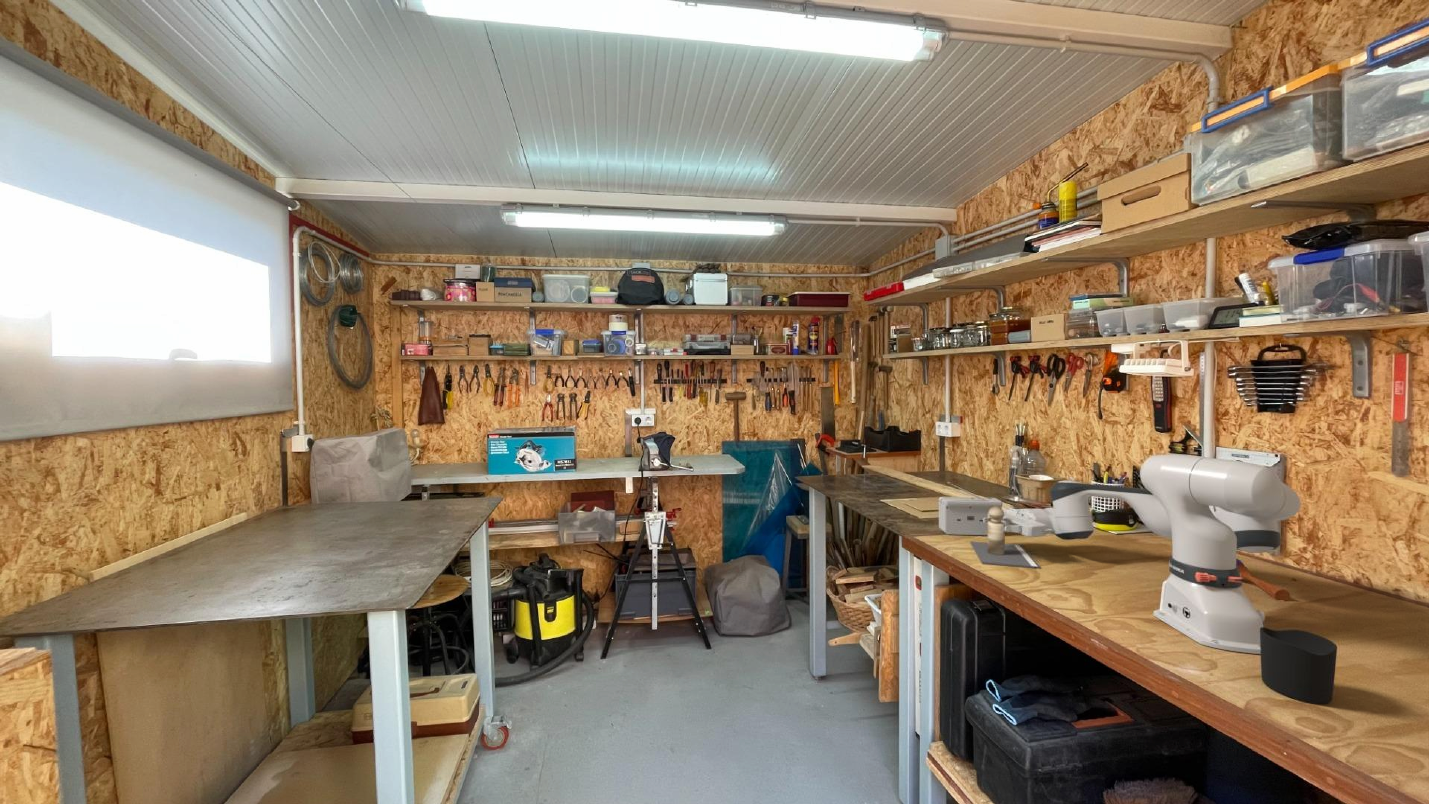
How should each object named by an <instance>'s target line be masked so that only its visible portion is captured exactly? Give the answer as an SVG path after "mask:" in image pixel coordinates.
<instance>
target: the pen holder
mask: <svg viewBox="0 0 1429 804" xmlns="http://www.w3.org/2000/svg"><path fill="white" fill-rule="evenodd" d="M1260 649H1261V654H1260V670H1261V671H1260V672H1261V673H1260V674H1261V680H1262V683H1264V685H1265V686H1266V687H1267V688H1269V689H1270V690H1272V691H1273V692H1276V693H1278V694H1280V695H1281V696H1284V697H1287V698H1289V699H1293V700H1296V701H1299V702H1303V703H1310V704H1313V705H1325V704H1329V703H1330V702H1331V701H1332V700H1333V695H1334V686H1335V677H1336V676H1335V675H1336V665H1337V655H1338V654H1337V652H1338V645H1337V644H1336V643H1335V642H1333V641H1332V640H1330V639H1327V638H1325V637H1324V636H1321V635H1319V634H1315V633H1312V632H1309V631H1306V630H1301V629H1281V630H1278V629H1277V630H1276V629H1275V630H1274V629H1271V628H1269V627H1264V626H1263V627H1261V628H1260Z"/></svg>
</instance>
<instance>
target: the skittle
mask: <svg viewBox="0 0 1429 804" xmlns="http://www.w3.org/2000/svg"><path fill="white" fill-rule="evenodd" d="M1002 509H1003V508H1002ZM1002 509H1001V508H999V507H992V508H990V509H989V512H988V514H989V517H990V518H991V521H988V535H987V543H988V553H990V554H994V555H1004V554H1005V544H1006V537H1005V536H1006V533H1005V532H1006V531H1004V530H1003V525H1005V523H1004V522H1001V519H1003V517H1004V512H1003V510H1002Z"/></svg>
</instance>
